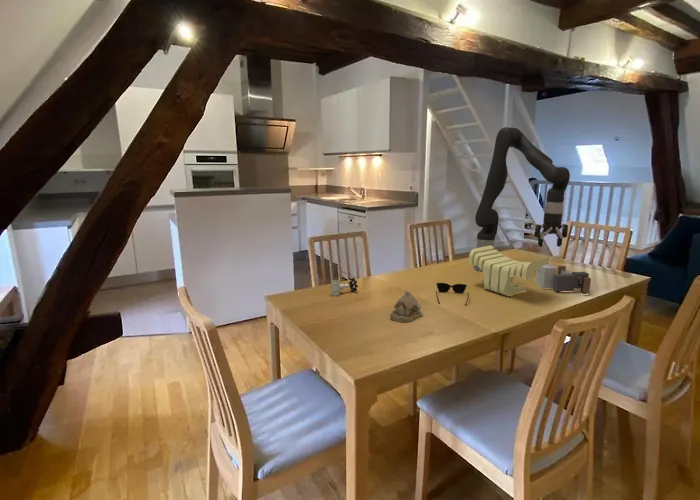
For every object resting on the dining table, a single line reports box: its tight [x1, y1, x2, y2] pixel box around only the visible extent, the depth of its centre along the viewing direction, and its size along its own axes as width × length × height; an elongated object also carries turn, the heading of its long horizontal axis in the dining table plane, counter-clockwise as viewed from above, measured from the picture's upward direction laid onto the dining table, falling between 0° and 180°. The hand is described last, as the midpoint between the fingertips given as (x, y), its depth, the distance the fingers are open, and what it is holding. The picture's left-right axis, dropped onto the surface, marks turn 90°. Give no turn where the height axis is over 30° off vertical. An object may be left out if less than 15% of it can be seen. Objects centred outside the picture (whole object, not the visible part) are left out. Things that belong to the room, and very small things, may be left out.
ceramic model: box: [389, 290, 423, 323], centre depth 155 cm, size 14×11×10 cm
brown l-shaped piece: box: [556, 265, 592, 294], centre depth 186 cm, size 10×21×8 cm, turn 2°
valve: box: [330, 277, 359, 297], centre depth 181 cm, size 7×7×12 cm
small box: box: [535, 263, 558, 289], centre depth 188 cm, size 8×6×10 cm
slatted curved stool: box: [468, 246, 550, 297], centre depth 182 cm, size 30×16×18 cm, turn 33°
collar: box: [552, 271, 590, 292], centre depth 181 cm, size 14×3×8 cm, turn 92°
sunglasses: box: [435, 282, 470, 307], centre depth 174 cm, size 14×16×5 cm
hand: (549, 246), depth 184 cm, fingers open, 8 cm apart
